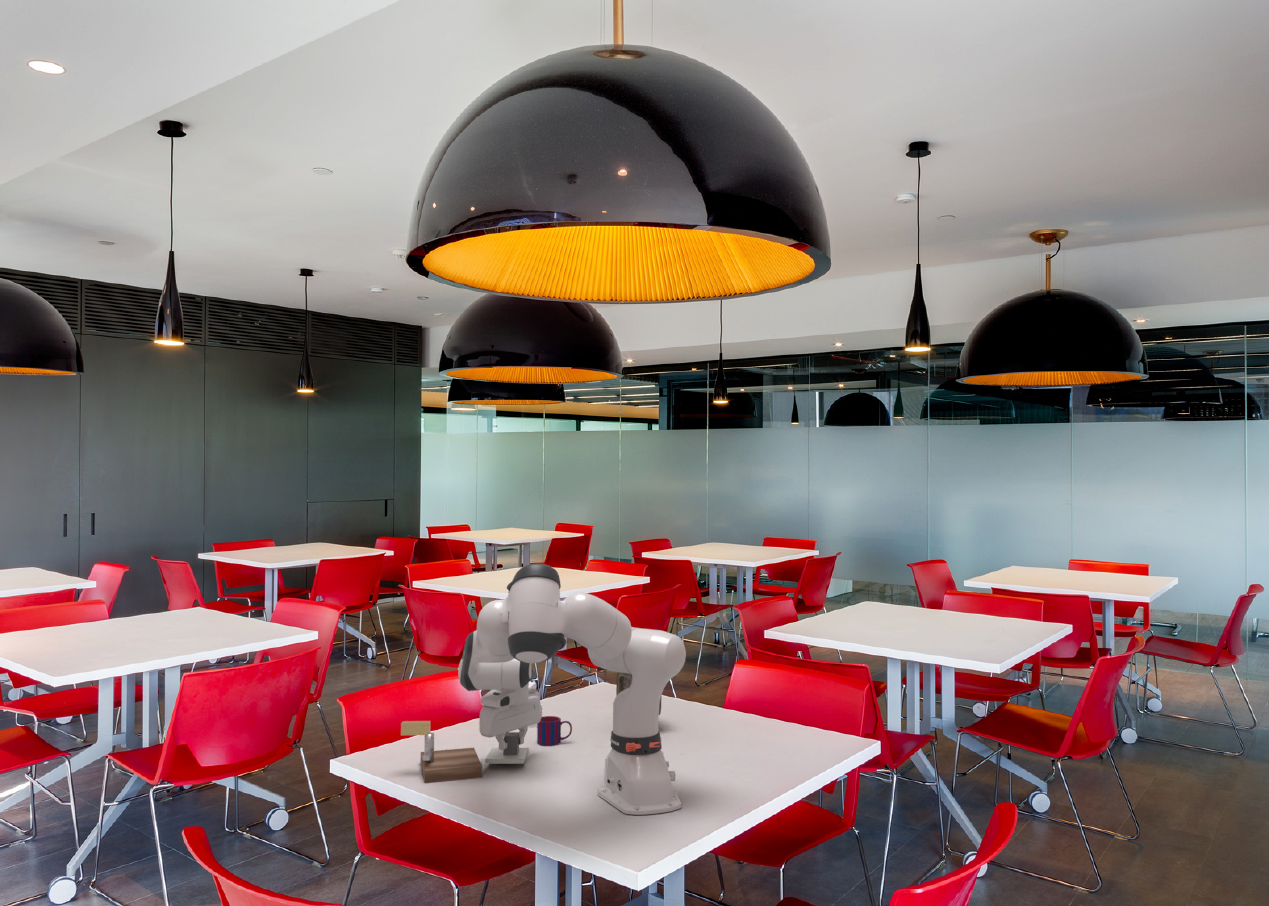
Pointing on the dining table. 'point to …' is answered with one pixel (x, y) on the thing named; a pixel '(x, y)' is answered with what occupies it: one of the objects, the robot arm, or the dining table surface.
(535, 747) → the dining table surface
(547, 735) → the mug
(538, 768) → the dining table surface
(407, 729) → the post with tan bar
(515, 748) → the cover
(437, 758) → the housing
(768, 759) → the dining table surface
